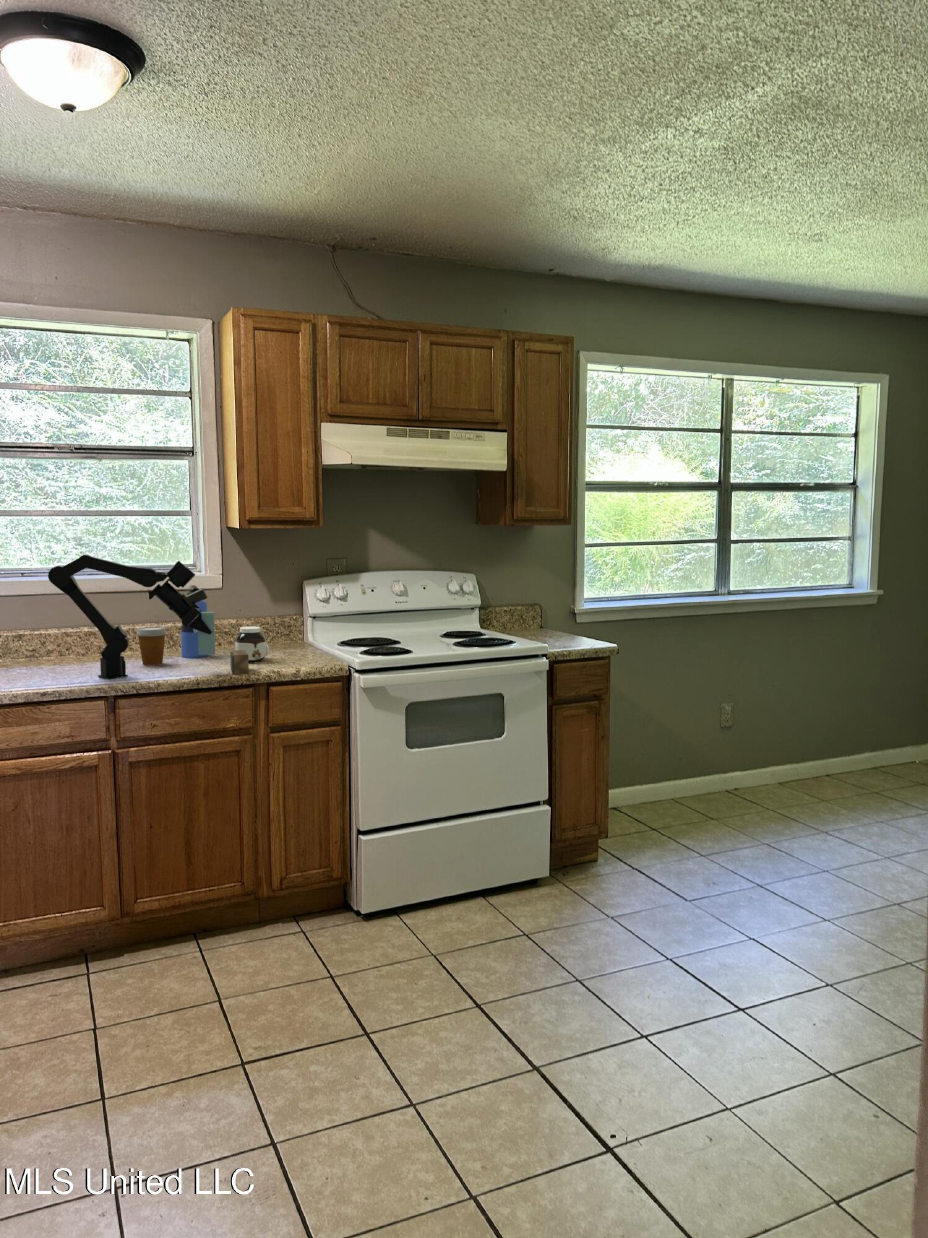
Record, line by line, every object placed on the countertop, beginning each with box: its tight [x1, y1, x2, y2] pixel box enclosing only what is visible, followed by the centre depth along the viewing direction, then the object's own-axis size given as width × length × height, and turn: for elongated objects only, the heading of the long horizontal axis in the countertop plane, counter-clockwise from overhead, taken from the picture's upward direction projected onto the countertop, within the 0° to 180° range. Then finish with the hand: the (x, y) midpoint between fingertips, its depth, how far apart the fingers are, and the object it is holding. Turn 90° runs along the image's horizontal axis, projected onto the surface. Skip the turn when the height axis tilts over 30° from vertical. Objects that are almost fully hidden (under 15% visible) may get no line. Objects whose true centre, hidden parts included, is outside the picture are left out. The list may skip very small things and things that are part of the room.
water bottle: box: [180, 585, 209, 659], centre depth 325 cm, size 9×9×25 cm
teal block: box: [198, 611, 216, 656], centre depth 292 cm, size 5×5×13 cm
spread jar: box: [234, 625, 270, 664], centre depth 317 cm, size 12×11×12 cm
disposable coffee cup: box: [136, 626, 168, 666], centre depth 309 cm, size 10×10×12 cm
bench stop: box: [230, 650, 250, 675], centre depth 296 cm, size 5×10×6 cm, turn 17°
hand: (210, 632), depth 292 cm, fingers closed on teal block, 5 cm apart
